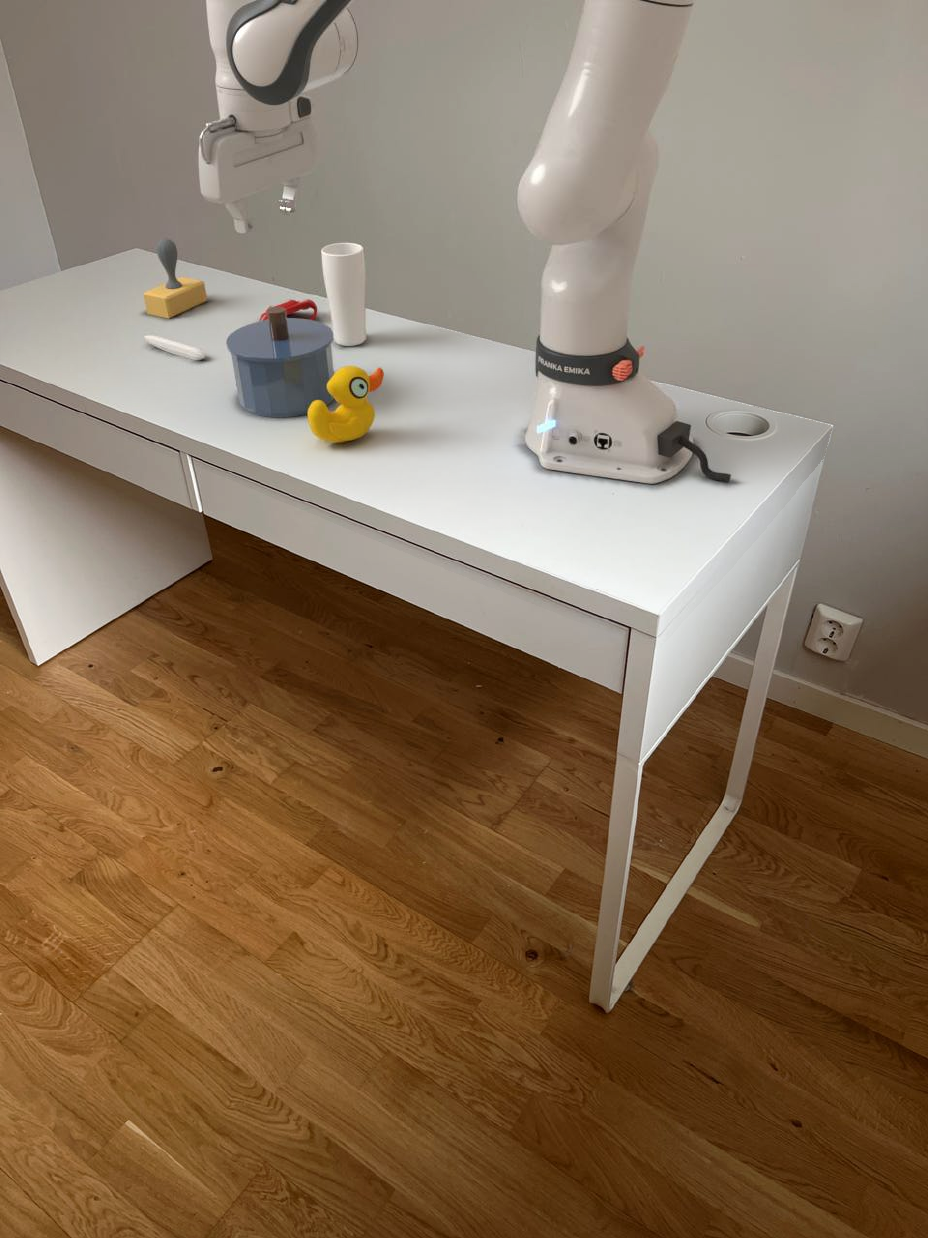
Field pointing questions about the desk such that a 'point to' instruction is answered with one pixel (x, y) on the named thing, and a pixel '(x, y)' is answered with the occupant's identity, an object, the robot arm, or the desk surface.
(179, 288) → the rubber stamp
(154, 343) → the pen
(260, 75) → the robot arm
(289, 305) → the tracker holder
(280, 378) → the pot
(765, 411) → the desk surface
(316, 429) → the duckling
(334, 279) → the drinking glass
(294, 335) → the lid
